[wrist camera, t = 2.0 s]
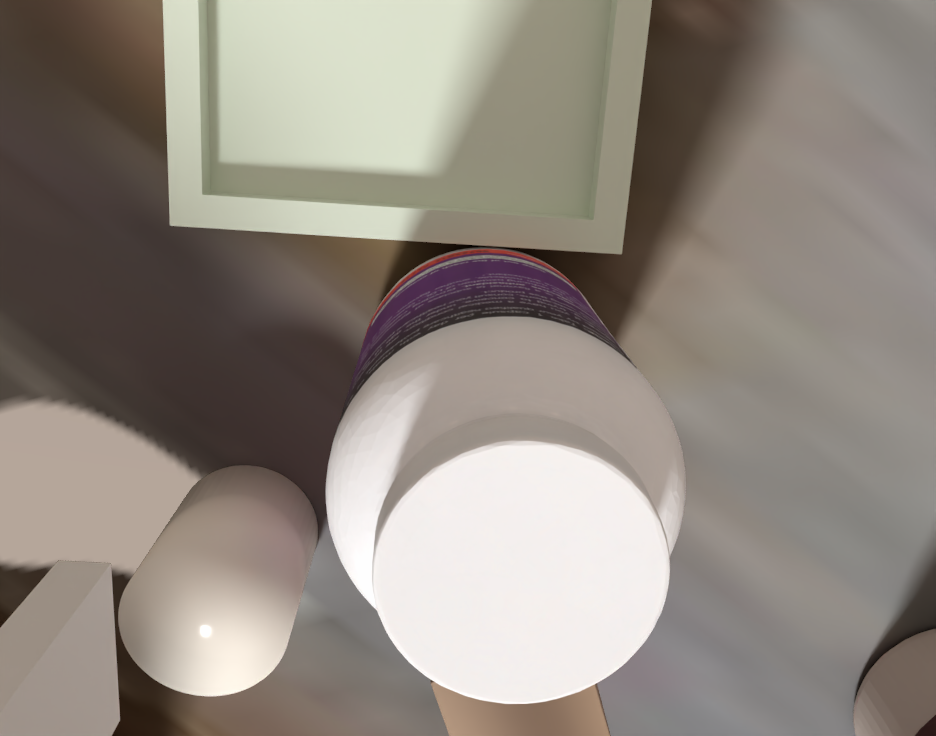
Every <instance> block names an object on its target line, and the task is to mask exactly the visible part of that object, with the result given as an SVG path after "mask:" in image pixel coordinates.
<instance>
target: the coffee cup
mask: <svg viewBox="0 0 936 736" xmlns="http://www.w3.org/2000/svg"><path fill="white" fill-rule="evenodd" d="M853 722H854V729H855V733H856V736H936V629H932V630H928V631H925V632H922V633H919V634H916V635H914V636H912V637H910V638H907V639H905V640H904V641H902V642H901V643H899V644H898V645H896V646H895V647H893V648H892V649H890V650H889V651H888V652H886V653H885V654H884V655H883V656H882V657H880V658H879V660H878V661H877V662H876V663H875V664H874V666H873V667H872V668H871V669H870V670H869V672H868V673H867V675H866V676H865V678H864V680H863V682H862V684H861V686H860V688H859V690H858V693H857V696H856V700H855V705H854V710H853Z"/></svg>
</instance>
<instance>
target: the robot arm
mask: <svg viewBox="0 0 936 736" xmlns="http://www.w3.org/2000/svg"><path fill="white" fill-rule="evenodd" d="M119 721H120V708H119V691H118V674H117V656H116V639H115V622H114V604H113V587H112V570H111V563H97V562H77V561H57V563H56V564H55V565H54V566H53V567H52V568H51V570H50V571H49V572H48V573H47V574H46V575H45V577H44V578H43V579H42V580H41V581H40V582H39V583H38V585H37V586H36V587H35V588H34V589H33V590H32V592H31V593H30V594H29V595H28V596H27V597H26V599H25V600H24V601H23V602H22V603H21V604H20V606H19V607H18V608H17V609H16V610H15V611H14V612H13V614H12V615H11V616H10V617H9V618H8V619H7V621H6V622H5V623H4V624H3V625H2V626H1V628H0V736H112V734H113V732H114V731H115V729H116V727H117V725H118V723H119Z"/></svg>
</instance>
